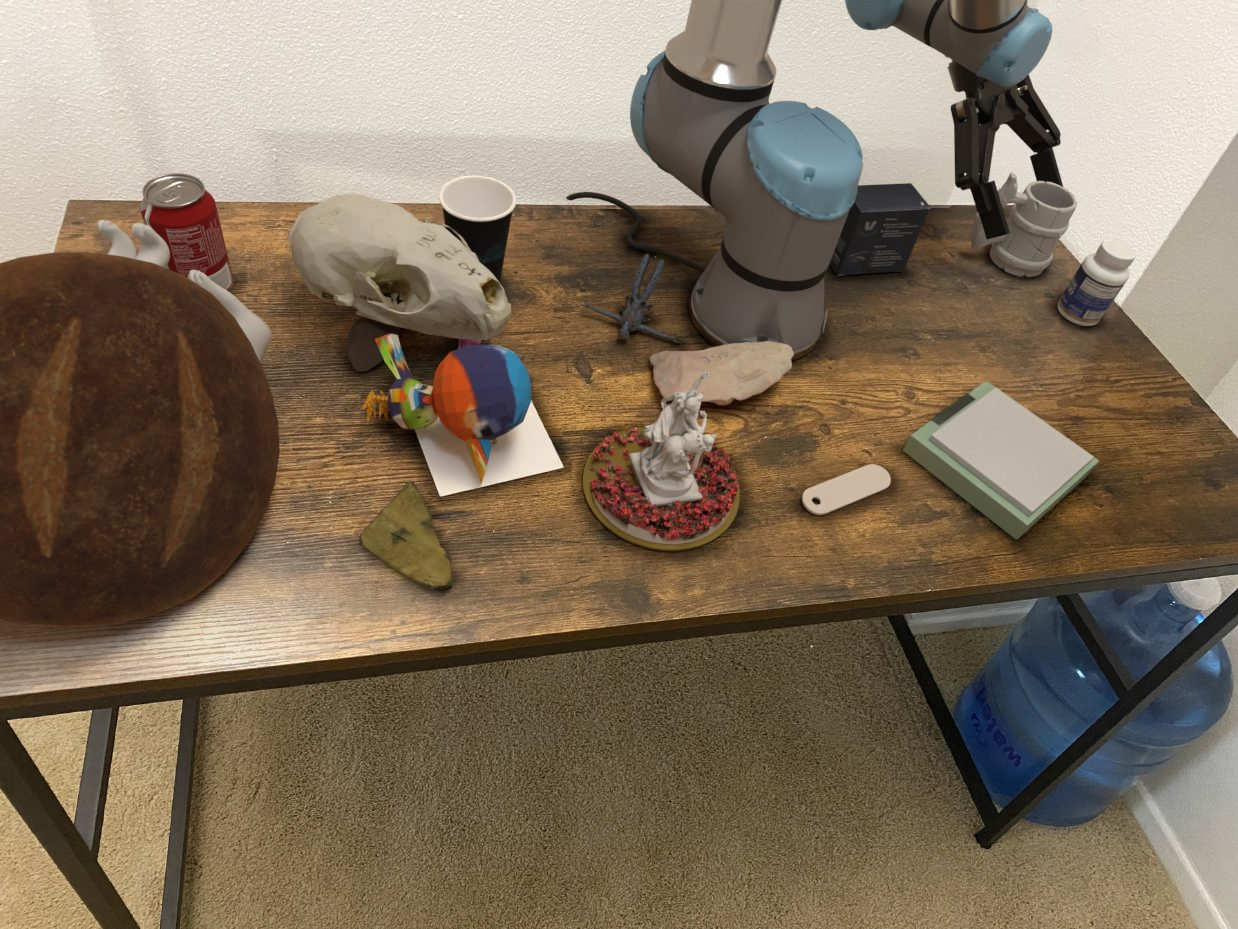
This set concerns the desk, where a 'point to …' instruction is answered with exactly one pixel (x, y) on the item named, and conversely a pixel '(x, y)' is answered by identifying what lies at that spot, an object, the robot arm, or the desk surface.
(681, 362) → the stone tool
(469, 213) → the dixie cup
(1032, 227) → the mug
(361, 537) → the stone
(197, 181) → the soda can
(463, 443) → the thin white square sheet
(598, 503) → the figurine
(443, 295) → the skull
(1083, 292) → the pill bottle
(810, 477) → the desk surface
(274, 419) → the bread
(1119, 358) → the desk surface
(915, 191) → the box
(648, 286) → the figurine
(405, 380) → the toy
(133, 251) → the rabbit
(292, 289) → the desk surface
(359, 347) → the figurine
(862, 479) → the keychain
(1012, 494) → the scale
